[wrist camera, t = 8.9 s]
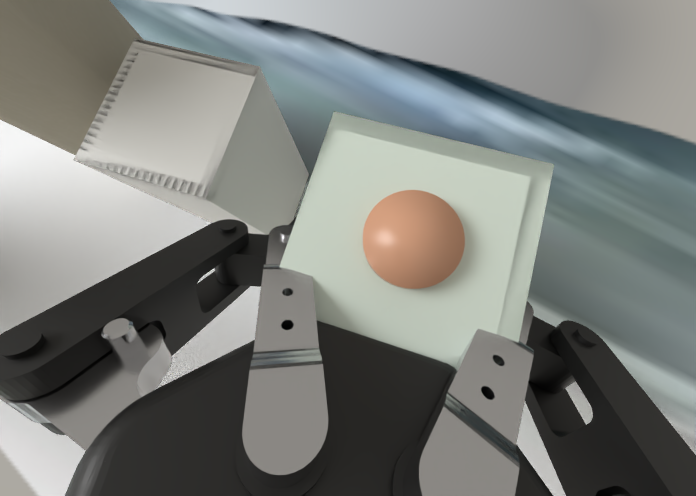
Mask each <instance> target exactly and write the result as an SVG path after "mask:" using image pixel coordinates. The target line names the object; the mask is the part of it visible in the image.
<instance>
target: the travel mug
mask: <svg viewBox="0 0 696 496" xmlns="http://www.w3.org/2000/svg"><path fill="white" fill-rule="evenodd" d="M134 38H137V39H141V40H143V39H142V37H141V36H140V35H139V34H138V33H137V32H136V31H135V29H134V28H133V27H132V26H131V25H130V24H129V22H128V21H127V20H126V19H125V18H124V17H123V16H122V14H121V13H120V12H119V11H118V10H117V9H116V8H115V6H114V5H113V4H112V3H111V2H110V1H109V0H0V120H2V121H4V122H7V123H9V124H11V125H13V126H15V127H17V128H19V129H21V130H23V131H25V132H28V133H30V134H32V135H34V136H36V137H38V138H40V139H42V140H44V141H47V142H49V143H51V144H53V145H55V146H57V147H59V148H61V149H63V150H66V151H68V152H70V153H72V154H74V155H76V154H77V152H78V150H79V148H80V146H81V144H82V142H83V140H84V138H85V136H86V134H87V132H88V130H89V128H90V126H91V124H92V122H93V120H94V118H95V116H96V114H97V112H98V110H99V108H100V106H101V104H102V102H103V100H104V98H105V96H106V94H107V92H108V90H109V88H110V86H111V84H112V82H113V80H114V78H115V76H116V74H117V72H118V70H119V68H120V66H121V64H122V62H123V60H124V58H125V56H126V54H127V52H128V50H129V48H130V46H131V44H132V42H133V40H134Z"/></svg>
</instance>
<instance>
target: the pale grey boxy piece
mask: <svg viewBox="0 0 696 496" xmlns="http://www.w3.org/2000/svg"><path fill="white" fill-rule="evenodd" d="M553 168H554V164H550V163H546V162H542V161H538V160H534V159H530V158H525V157H521V156H517V155H513V154H509V153H505V152H501V151H497V150H492V149H488V148H484V147H480V146H476V145H472V144H468V143H463V142H459V141H455V140H451V139H447V138H443V137H439V136H434V135H430V134H426V133H422V132H418V131H414V130H410V129H406V128H401V127H397V126H393V125H389V124H385V123H381V122H377V121H372V120H368V119H364V118H360V117H356V116H352V115H348V114H343V113H339V112H335V111H334V113H333V115H332V118H331V121H330V124H329V127H328V130H327V133H326V135H325V138H324V141H323V144H322V147H321V150H320V152H319V155H318V158H317V161H316V164H315V167H314V169H313V172H312V175H311V178H310V181H309V184H308V187H307V189H306V192H305V195H304V198H303V201H302V204H301V206H300V209H299V212H298V215H297V218H296V221H295V223H294V226H293V229H292V232H291V235H290V238H289V241H288V243H287V246H286V249H285V252H284V255H283V258H282V260H281V263H280V266H279V267H283V268H287V269H291V270H294V271H297V272H300V273H303V274H307V275H310V276H312V279H313V289H314V300H315V310H316V320H318V321H320V322H323V323H327V324H330V325H333V326H336V327H339V328H342V329H345V330H348V331H351V332H354V333H357V334H360V335H363V336H366V337H369V338H372V339H375V340H378V341H381V342H384V343H387V344H390V345H393V346H396V347H399V348H402V349H405V350H408V351H411V352H414V353H417V354H420V355H423V356H426V357H429V358H432V359H435V360H438V361H441V362H443V363H447V364H449V365H451V366H453V367H454V368H455V367H456V365H457V363H458V360H459V358H460V356H461V355H462V353H463V351H464V350H465V348H466V347H467V345H468V343H469V342H470V340H471V338H472V337H473V335H474V334H475V332H476V330H477V329H481V330H484V331H488V332H491V333H494V334H497V335H500V336H503V337H506V338H509V339H512V340H514V341H516V342H519V337H520V332H521V327H522V322H523V317H524V312H525V307H526V302H527V297H528V292H529V287H530V282H531V277H532V272H533V267H534V262H535V257H536V253H537V248H538V243H539V238H540V233H541V228H542V223H543V218H544V213H545V208H546V203H547V198H548V193H549V188H550V183H551V178H552V173H553Z"/></svg>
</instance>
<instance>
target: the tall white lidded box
mask: <svg viewBox="0 0 696 496" xmlns="http://www.w3.org/2000/svg"><path fill="white" fill-rule="evenodd" d="M74 160H75V161H77V162H79V163H81V164H84V165H86V166H88V167H90V168H92V169H95V170H97V171H99V172H101V173H103V174H106V175H108V176H110V177H112V178H114V179H117V180H119V181H121V182H123V183H125V184H127V185H130V186H132V187H134V188H136V189H138V190H141V191H143V192H145V193H147V194H149V195H152V196H154V197H156V198H158V199H160V200H163V201H165V202H167V203H169V204H171V205H174V206H176V207H178V208H180V209H182V210H185V211H187V212H189V213H191V214H193V215H196V216H198V217H200V218H202V219H204V220H207V221H209V222H211V223H214V222H216V221H219V220H224V219H234V220H239V221H242V222H244V223H245V224H246V225H247V227H248V233H252V234H266V235H267V234H269V232H270V231H271V230H272V229H273V228H275V227H277V226H281V225H289V224H290V223H291V222H292V221H293V219H294V216H295V213H296V210H297V208H298V205H299V202H300V199H301V196H302V193H303V191H304V188H305V185H306V182H307V179H308V176H309V173H308V171H307V169H306V167H305V164H304V162H303V160H302V158H301V156H300V153H299V151H298V149H297V147H296V145H295V143H294V140H293V138H292V136H291V134H290V132H289V129H288V127H287V125H286V123H285V121H284V118H283V116H282V114H281V112H280V110H279V108H278V105H277V103H276V101H275V99H274V97H273V94H272V92H271V90H270V88H269V86H268V83H267V81H266V79H265V77H264V75H263V73H262V70H261V68H260V67H259V66H254V65H250V64H246V63H241V62H237V61H233V60H228V59H224V58H220V57H215V56H211V55H207V54H202V53H198V52H194V51H189V50H185V49H181V48H176V47H172V46H168V45H163V44H159V43H155V42H150V41H146V40H141V39H137V38H134V40H133V42H132V44H131V46H130V48H129V50H128V52H127V54H126V56H125V58H124V60H123V62H122V64H121V66H120V68H119V70H118V72H117V74H116V76H115V78H114V80H113V82H112V84H111V86H110V88H109V90H108V92H107V94H106V96H105V98H104V100H103V102H102V104H101V106H100V108H99V110H98V112H97V114H96V116H95V118H94V120H93V122H92V124H91V126H90V128H89V130H88V132H87V134H86V136H85V138H84V140H83V142H82V144H81V146H80V148H79V150H78V152H77V154H76V156H75V158H74Z"/></svg>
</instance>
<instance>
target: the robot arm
mask: <svg viewBox="0 0 696 496" xmlns="http://www.w3.org/2000/svg"><path fill="white" fill-rule="evenodd" d="M296 218H297V216H296V217H295V218H294V220H293V221H292V222H291V223H290V224H289V225H281V226H277V227H275V228H273V229H272V230H271V231H270V232H269V234H267V235H266V234H252V233H248V227H247V225H246V224H245V223H244V222H242V221H239V220H234V219H224V220H219V221H216V222H214V223H212V224H210V225H208V226H206V227H204V228H202V229H200V230H198V231H197V232H195V233H193V234H191V235H189V236H187V237H185V238H183V239H181V240H179V241H178V242H176V243H174V244H172V245H170V246H168V247H166V248H164V249H162V250H160V251H158V252H157V253H155V254H153V255H151V256H149V257H147V258H145V259H143V260H141V261H139V262H138V263H136V264H134V265H132V266H130V267H128V268H126V269H124V270H122V271H120V272H118V273H117V274H115V275H113V276H111V277H109V278H107V279H105V280H103V281H101V282H99V283H98V284H96V285H94V286H92V287H90V288H88V289H86V290H84V291H82V292H80V293H78V294H77V295H75V296H73V297H71V298H69V299H67V300H65V301H63V302H61V303H59V304H58V305H56V306H54V307H52V308H50V309H48V310H46V311H44V312H42V313H40V314H38V315H37V316H35V317H33V318H31V319H29V320H27V321H25V322H23V323H21V324H19V325H18V326H16V327H14V328H12V329H10V330H8V331H6V332H4V333H3V334H1V335H0V399H1V400H2V401H4V402H5V403H7V404H8V405H10V406H11V407H13V408H14V409H15V410H17V411H18V412H20V413H21V414H23V415H24V416H26V417H27V418H29V419H30V420H31V421H34V422H37V423H40V424H42V425H43V426H45V427H46V428H48V429H49V430H50V431H52V432H53V433H56V434H60V435H67V436H68V437H70V438H71V439H72V440H73V441H75V442H76V443H77V444H78V445H79V446H81V447H82V448H83V449H84V450H86V452H85V454H84V455H83V457H82V459H81V461H80V463H79V464H78V466H77V468H76V471H75V473H74V475H73V478H72V480H71V482H70V485H69V487H68V490H67V492H66V494H65V496H553V495H552V493H551V492H550V491H549V489H548V488H547V486H546V485H545V484H544V482H543V481H542V480H541V478H540V477H539V475H538V474H537V473H536V471H535V470H534V468H533V467H532V466H531V464H530V463H529V461H528V460H527V459H526V457H525V456H524V454H523V453H522V452H521V450H520V449H519V447H518V446H517V445H516V441H517V436H518V431H519V426H520V421H521V416H522V411H523V406H524V401H526V404H527V406H528V408H529V411H530V413H531V415H532V418H533V420H534V422H535V425H536V427H537V429H538V432H539V434H540V436H541V439H542V441H543V443H544V446H545V448H546V450H547V452H548V455H549V457H550V459H551V462H552V464H553V466H554V469H555V471H556V473H557V476H558V478H559V480H560V483H561V485H562V487H563V490H564V492H565V494H566V496H696V455H695V454H694V453H693V451H692V450H691V449H690V448H689V446H688V445H687V444H686V443H685V441H684V440H683V439H682V438H681V436H680V435H679V434H678V433H677V431H676V430H675V429H674V428H673V427H672V425H671V424H670V423H669V422H668V420H667V419H666V418H665V417H664V415H663V414H662V413H661V412H660V410H659V409H658V408H657V407H656V405H655V404H654V403H653V402H652V400H651V399H650V398H649V397H648V395H647V394H646V393H645V392H644V390H643V389H642V388H641V387H640V386H639V384H638V383H637V382H636V381H635V379H634V378H633V377H632V376H631V374H630V373H629V372H628V371H627V369H626V368H625V367H624V366H623V364H622V363H621V362H620V361H619V359H618V358H617V357H616V356H615V354H614V353H613V352H612V351H611V349H610V348H609V347H608V346H607V344H606V343H605V342H604V341H603V340H602V339H601V338H600V337H599V336H598V335H597V334H596V333H594V332H593V331H592V330H590V329H589V328H587V327H585V326H583V325H581V324H579V323H576V322H573V321H563V322H561V323H560V324H559V325H558V326H557V327H554V326H552V325H550V324H548V323H546V322H544V321H542V320H540V319H538V318H537V317H535V316H533V313H534V312H533V308H532V306H531V305H530V303H529V302H528V301H527V302H526V307H525V312H524V317H523V322H522V327H521V332H520V337H519V342H516V341H514V340H512V339H509V338H506V337H503V336H500V335H497V334H494V333H491V332H488V331H484V330H481V329H477V330H476V332H475V334H474V335H473V337H472V338H471V340H470V342H469V343H468V345H467V347H466V348H465V350H464V351H463V353H462V355H461V356H460V358H459V360H458V363H457V365H456V367H455V368H454V367H453V366H451V365H449V364H447V363H443V362H441V361H438V360H435V359H432V358H429V357H426V356H423V355H420V354H417V353H414V352H411V351H408V350H405V349H402V348H399V347H396V346H393V345H390V344H387V343H384V342H381V341H378V340H375V339H372V338H369V337H366V336H363V335H360V334H357V333H354V332H351V331H348V330H345V329H342V328H339V327H336V326H333V325H330V324H327V323H323V322H320V321H318V320H316V310H315V300H314V289H313V279H312V276H310V275H307V274H303V273H300V272H297V271H294V270H291V269H287V268H283V267H279V266H280V263H281V260H282V258H283V255H284V252H285V249H286V246H287V243H288V241H289V238H290V235H291V232H292V229H293V226H294V223H295V221H296ZM213 268H215V272H213V273H212V274H210V275H209V276H208V277H206V278H205V279H203V280H202V281H200V282H199V283H198V284H197V282H198V281H199V279H200V278H201V277H202V276H203V275H205V274H206V273H208V272H209V271H210V270H212V269H213ZM250 286H261V292H260V301H259V309H258V318H257V326H256V335H255V340H254V341H252V342H250V343H248V344H246V345H244V346H242V347H240V348H238V349H236V350H234V351H232V352H230V353H228V354H226V355H224V356H222V357H220V358H218V359H216V360H214V361H212V362H210V363H208V364H206V365H204V366H202V367H200V368H198V369H196V370H194V371H192V372H190V373H188V374H186V375H184V376H182V377H180V378H178V379H176V380H174V381H172V382H170V383H168V384H166V385H164V386H162V387H160V388H158V389H156V388H157V387H158V386H159V385H160V383H161V381H162V378H163V377H164V376H165V375H166V374H167V372H168V370H169V368H170V366H171V362H172V358H171V356H172V355H173V354H175V353H176V352H177V351H178V350H179V349H180V348H181V347H182V346H184V345H185V344H186V343H187V342H188V341H189V340H190V339H191V338H193V337H194V336H195V335H196V334H197V333H198V332H199V331H200V330H202V329H203V328H204V327H205V326H206V325H207V324H208V323H209V322H211V321H212V320H213V319H214V318H215V317H216V316H217V315H218V314H220V313H221V312H222V311H223V310H224V309H225V308H226V307H227V306H229V305H230V304H231V303H232V302H233V301H234V300H235V299H236V298H238V297H239V296H240V295H241V294H242V293H243V292H244V291H245V290H247V289H248V288H249V287H250ZM575 381H576V382H577V384H578V385H579V387H580V389H581V390H582V392H583V393H584V395H585V397H586V398H587V400H588V402H589V403H590V405H591V407H592V411H593V418H592V421H591V422H590V423H589V424H587V425H586V424H585V422H584V421H583V419H582V417H581V415H580V414H579V412H578V410H577V408H576V407H575V405H574V403H573V401H572V399H571V398H570V396H569V394H568V392H567V391H566V389H565V388H566V387H568V386H569V385H570V384H572V383H573V382H575ZM155 389H156V390H155Z"/></svg>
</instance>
